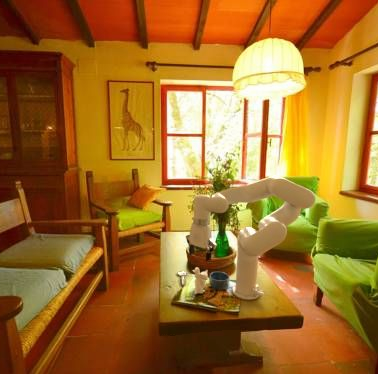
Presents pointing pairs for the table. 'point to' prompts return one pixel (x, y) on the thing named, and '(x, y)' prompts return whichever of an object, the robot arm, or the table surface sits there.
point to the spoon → (182, 276)
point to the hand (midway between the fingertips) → (199, 257)
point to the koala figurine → (200, 280)
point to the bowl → (219, 280)
